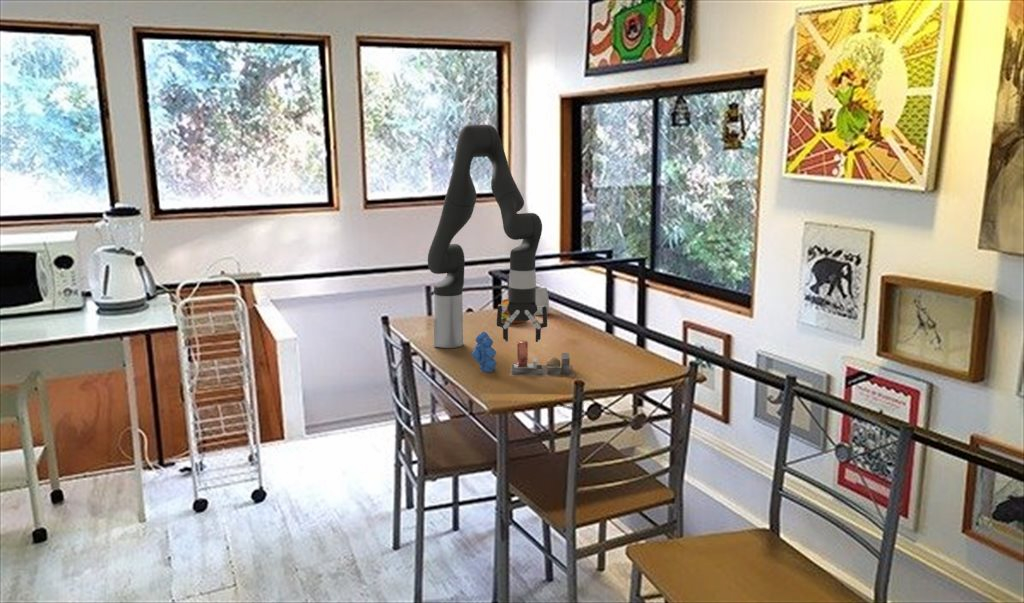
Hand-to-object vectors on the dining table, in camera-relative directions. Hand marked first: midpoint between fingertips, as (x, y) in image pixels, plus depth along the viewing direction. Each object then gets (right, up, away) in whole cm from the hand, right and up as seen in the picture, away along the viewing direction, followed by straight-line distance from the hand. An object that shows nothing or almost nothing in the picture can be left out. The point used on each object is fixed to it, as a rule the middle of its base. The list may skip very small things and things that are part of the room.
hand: (521, 341), depth 215 cm
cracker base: (+6, -10, +2) cm, 12 cm away
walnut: (+9, -9, +1) cm, 13 cm away
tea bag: (+8, +6, +80) cm, 81 cm away
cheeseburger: (-3, +3, +67) cm, 67 cm away
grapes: (-11, -10, +4) cm, 15 cm away
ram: (+1, -8, +1) cm, 8 cm away
